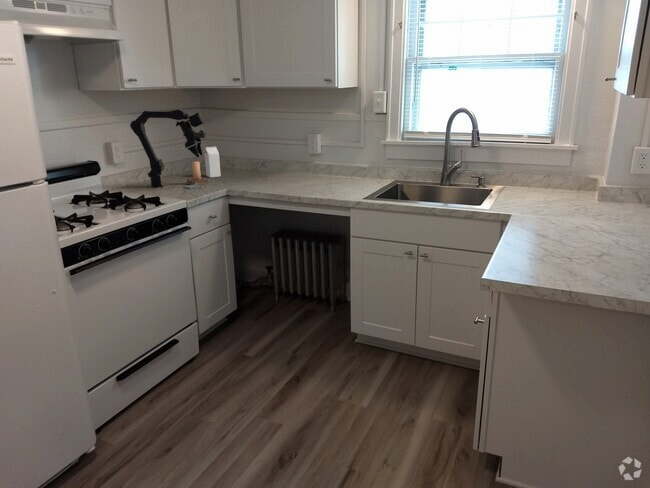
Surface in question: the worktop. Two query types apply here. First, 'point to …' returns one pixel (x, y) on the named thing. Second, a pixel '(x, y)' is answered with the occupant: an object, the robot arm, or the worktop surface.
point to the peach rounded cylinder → (196, 171)
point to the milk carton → (212, 162)
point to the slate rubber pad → (192, 186)
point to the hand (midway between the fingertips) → (200, 156)
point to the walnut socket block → (197, 182)
